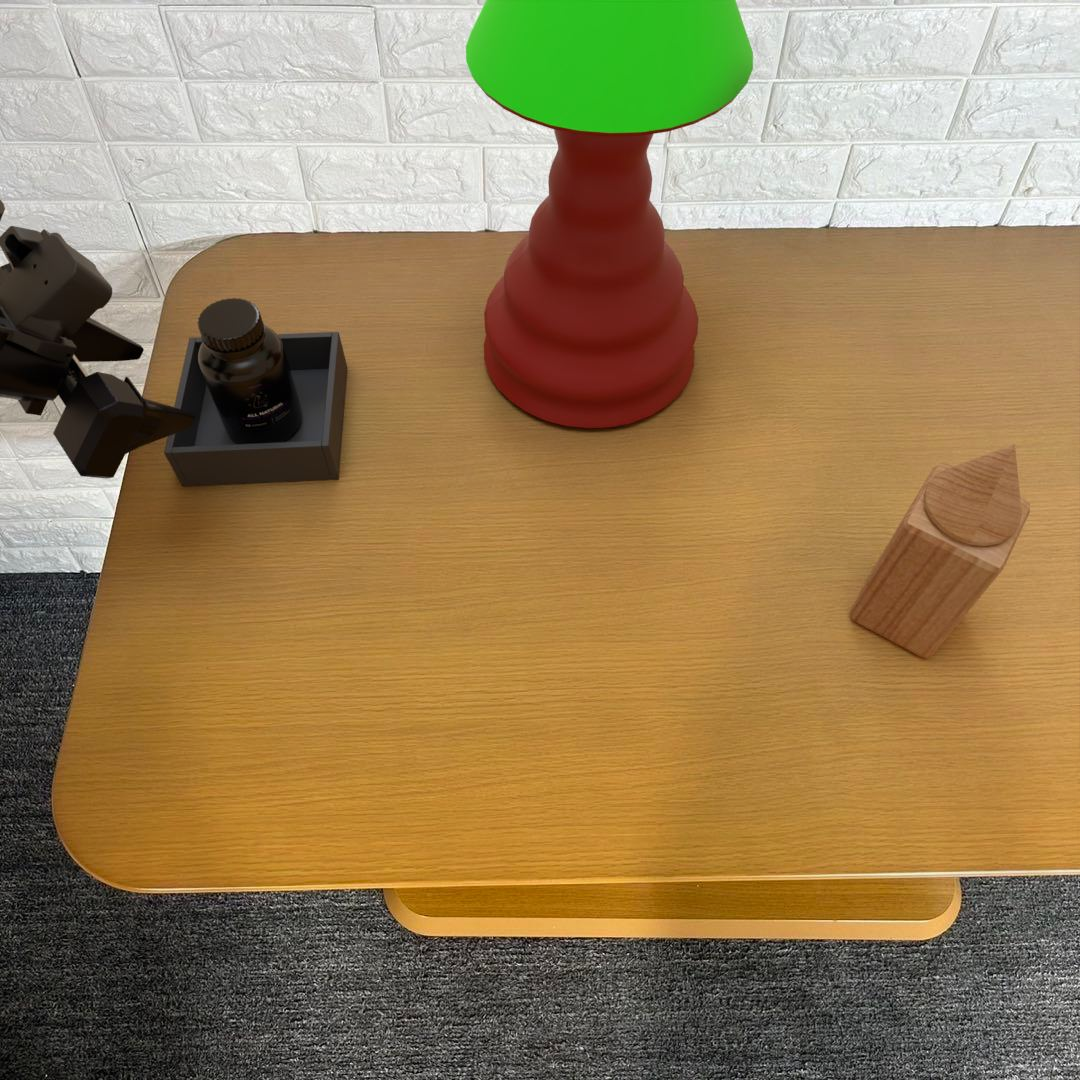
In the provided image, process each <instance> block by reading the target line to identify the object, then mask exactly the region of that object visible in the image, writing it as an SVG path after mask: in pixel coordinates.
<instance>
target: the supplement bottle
mask: <svg viewBox="0 0 1080 1080" xmlns="http://www.w3.org/2000/svg"><path fill="white" fill-rule="evenodd" d="M197 319H198V321H197V327H198V331H199V333H200V337H201V338H202V341H203V342H202V344H201V346H200V349H199V353H198V362H199V366H200V369H201V372H202V374H203V377H204V379H205V381H206V384H207V386H208V389H209V391H210V394H211V396H212V399H213V401H214V404H215V406H216V408H217V411H218V413H219V416H220V418H221V421H222V423H223V425H224V428H225V430H226V432H227V433H228V435H229V436H230V437H231V438H232V439H233V440H234V441H236V442H237V443H239V444H258V443H280V442H283V441H285V440H287V439H288V438H289V437H291V436H292V435H293V434H294V433H295V431H296V430H297V429H298V427H299V425H300V423H301V419H302V409H301V404H300V401H299V397H298V394H297V390H296V387H295V384H294V380H293V377H292V373H291V370H290V367H289V363H288V360H287V356H286V353H285V350H284V346H283V344H282V341H281V339H280V338H279V336H278V335H277V334H278V333H276V332H275V331H274V330H273V329H272V328H271V327H269V326H268V325H265V323H264V320H263V318H262V314H261V312H260V310H259V307H257V306H256V304H255V303H252V301H250V300H247V299H242V298H236V297H233V298H230V297H228V298H223V299H220V300H217V301H215V302H213V303H210V304H209V305H207V306H206V307H205V308H204V309H202V311H201V313H199V316H198V317H197Z"/></svg>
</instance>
